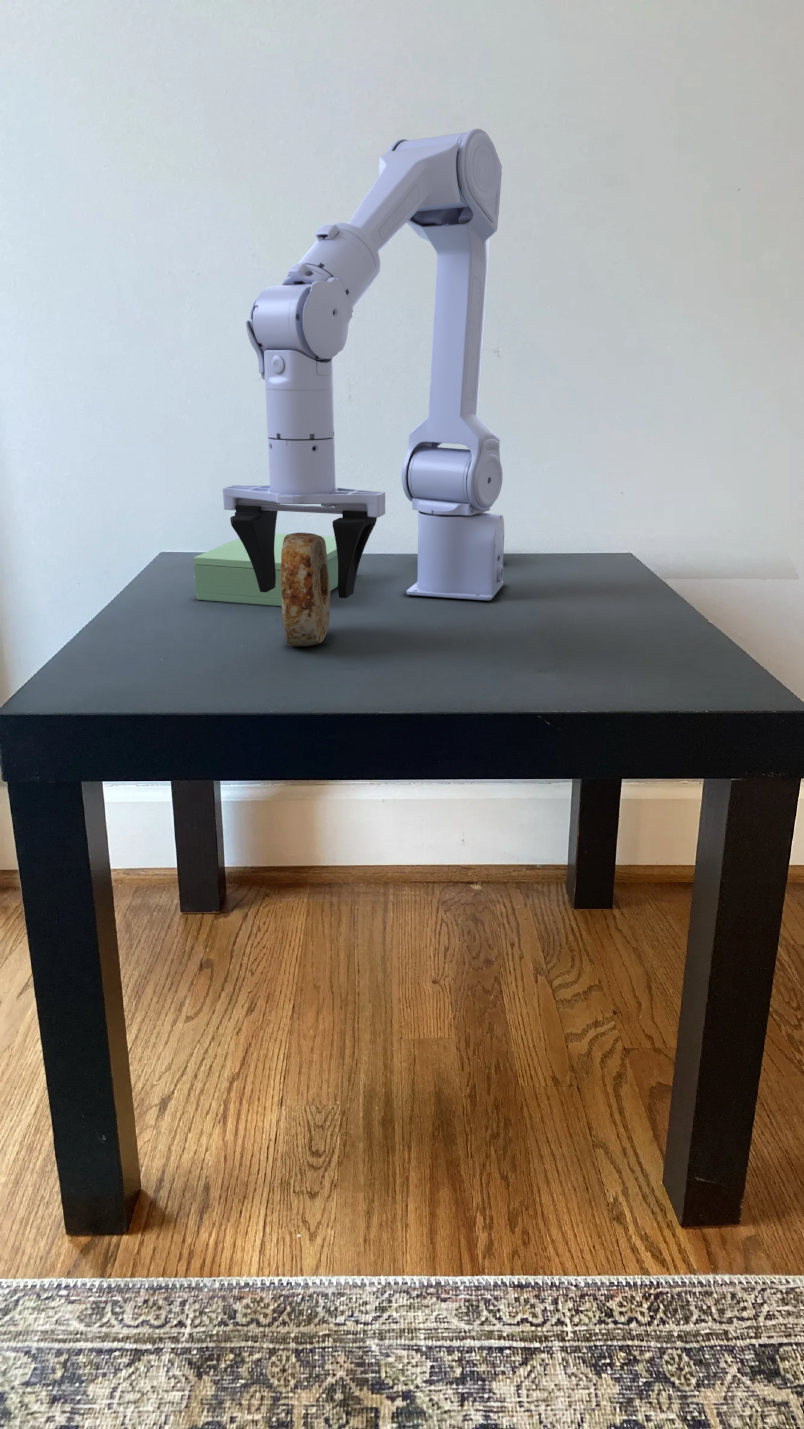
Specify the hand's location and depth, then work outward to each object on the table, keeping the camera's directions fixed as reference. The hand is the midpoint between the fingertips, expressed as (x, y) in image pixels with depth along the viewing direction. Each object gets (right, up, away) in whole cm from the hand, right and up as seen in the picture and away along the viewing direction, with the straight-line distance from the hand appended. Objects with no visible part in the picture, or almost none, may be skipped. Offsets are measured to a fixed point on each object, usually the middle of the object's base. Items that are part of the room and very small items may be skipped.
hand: (306, 592), depth 86 cm
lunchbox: (-5, +3, +22) cm, 23 cm away
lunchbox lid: (-5, +7, +20) cm, 22 cm away
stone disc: (0, -5, +2) cm, 5 cm away
